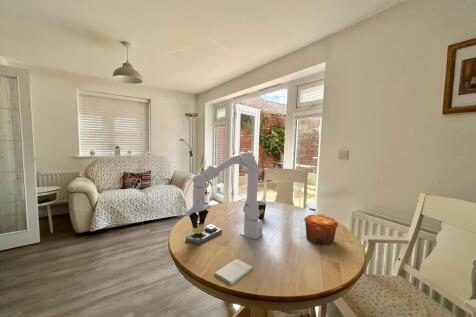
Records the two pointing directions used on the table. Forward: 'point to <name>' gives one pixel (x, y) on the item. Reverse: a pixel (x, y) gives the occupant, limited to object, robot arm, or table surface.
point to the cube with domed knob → (210, 228)
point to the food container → (320, 229)
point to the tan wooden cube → (198, 228)
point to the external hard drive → (233, 271)
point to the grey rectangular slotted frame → (204, 236)
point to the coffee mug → (261, 209)
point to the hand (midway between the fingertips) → (198, 226)
